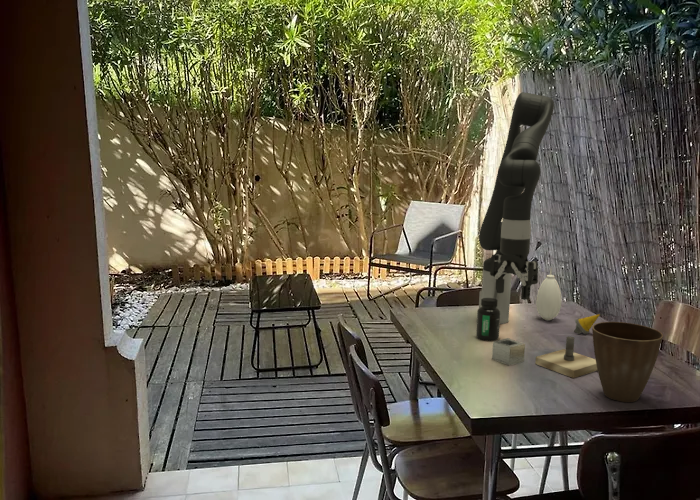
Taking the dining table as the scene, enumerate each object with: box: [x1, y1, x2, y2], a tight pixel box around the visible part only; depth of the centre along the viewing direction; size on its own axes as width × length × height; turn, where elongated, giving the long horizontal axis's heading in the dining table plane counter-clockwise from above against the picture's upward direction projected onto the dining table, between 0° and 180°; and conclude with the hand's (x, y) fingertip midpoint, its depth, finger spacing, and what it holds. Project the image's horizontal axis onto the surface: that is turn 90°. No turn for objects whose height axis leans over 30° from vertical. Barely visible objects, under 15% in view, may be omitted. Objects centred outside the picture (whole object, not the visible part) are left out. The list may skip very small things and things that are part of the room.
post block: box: [534, 336, 598, 379], centre depth 162 cm, size 12×12×8 cm
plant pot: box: [591, 321, 664, 403], centre depth 142 cm, size 15×15×16 cm
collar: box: [491, 337, 526, 366], centre depth 166 cm, size 6×6×5 cm
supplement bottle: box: [475, 298, 501, 342], centre depth 185 cm, size 7×7×12 cm
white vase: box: [535, 268, 562, 321], centre depth 204 cm, size 8×8×18 cm
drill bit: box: [573, 313, 601, 335], centre depth 191 cm, size 5×5×10 cm
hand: (512, 295), depth 163 cm, fingers open, 8 cm apart
